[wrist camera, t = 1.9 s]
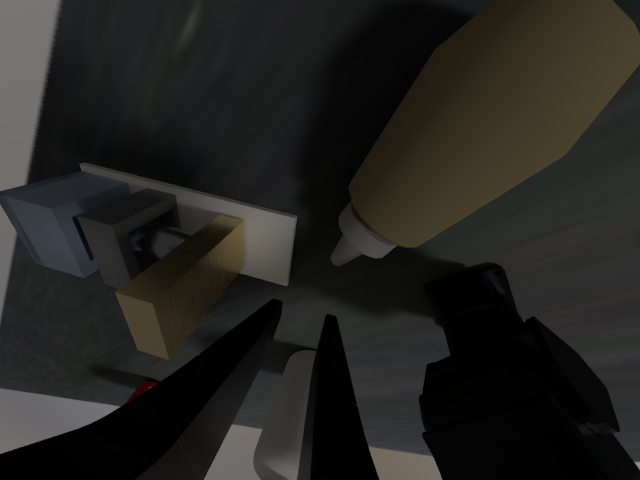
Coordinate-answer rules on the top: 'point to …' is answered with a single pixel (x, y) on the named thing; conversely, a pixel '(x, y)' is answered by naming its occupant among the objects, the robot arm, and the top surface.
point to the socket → (60, 217)
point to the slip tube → (179, 280)
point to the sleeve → (125, 232)
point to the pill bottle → (285, 422)
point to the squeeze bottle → (486, 117)
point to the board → (201, 208)
